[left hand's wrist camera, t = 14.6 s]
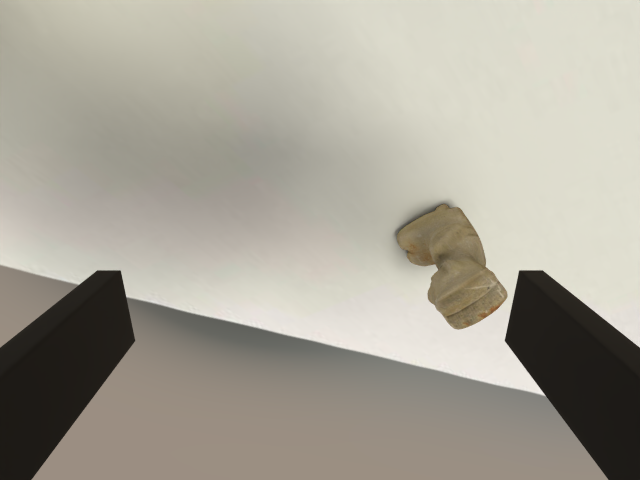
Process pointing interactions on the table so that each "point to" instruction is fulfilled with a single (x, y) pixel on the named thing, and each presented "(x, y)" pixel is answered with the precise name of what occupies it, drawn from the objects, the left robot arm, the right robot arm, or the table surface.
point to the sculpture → (453, 266)
